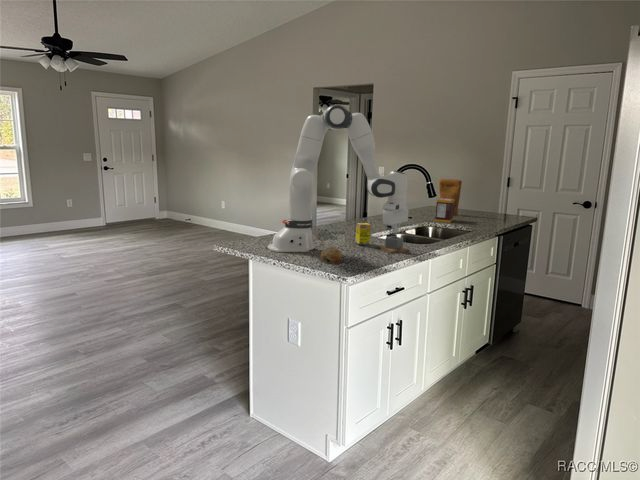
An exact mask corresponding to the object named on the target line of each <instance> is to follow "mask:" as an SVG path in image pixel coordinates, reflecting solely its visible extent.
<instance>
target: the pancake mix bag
mask: <svg viewBox="0 0 640 480" xmlns="http://www.w3.org/2000/svg"><path fill="white" fill-rule="evenodd" d="M462 183H463V180H461V179H452V178H450V179H447V178H440V179H438V183H437V184H438V194H439V198H438V199H440V198H448V199H455V203H454V214H453V217H456V216H457V217H458V216H459V215H458V214H459V205H460V204H459V202H460V197H461V192H462V185H463V184H462Z"/></svg>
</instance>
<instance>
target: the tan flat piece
mask: <svg viewBox="0 0 640 480" xmlns="http://www.w3.org/2000/svg"><path fill="white" fill-rule="evenodd" d="M378 249H379V250H381V251H383V252H387V253H389V254H396V253H397V254H398V253H400V254H401V253H410V249H409V248H407V247H404V246H403V248H400V249H397V250H395V249H389V248H385V245H378Z"/></svg>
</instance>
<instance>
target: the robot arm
mask: <svg viewBox="0 0 640 480" xmlns="http://www.w3.org/2000/svg"><path fill="white" fill-rule="evenodd" d="M340 129H341V130H344V131H345V132H346V134H347V135H348V139H349V140H350V144H351V146H352V148H353V150H354V152H355V153H356V155H357V157H358V159H359V160H360V162H361V164H362V167H363V170H364V174H365V176H366V190H367V192H368V193H369V194H370V195H371V196H372V197H376V198H378V199H380V198H388V200H387V201H386V202H385V203H384V204H383V205H382V209H383V213H382V224H383V225H384V226H388V227H390V226H391V229H392V230H391V231H392V234H396V233H399V229H400V226H401V224H403V223H406V222H408V220H409V208H408V205H407V198H408V197H407V191H408V175H407V174H406V173H405V172H403V171H397V170H392V171H390V172H388V173H386V174H385V175H383V176H382V175H381V174H380V172H379V169H378V167H377V164H376V161H375V156H374V153H375V149H376V141H375V137H374V134H373V131H372V128H371V125H370V124H369V122H368V120H367V119H366V116H365V115H364V114H363V113H361V112H353V113H351V112H350V110H348V109H347V108H345V107H344V105H343V106H342V105H340V104H333V105H330V106H328V107H327V108H326V109H325V111H324V112H322V114H321V115H319V114H312V115H308V116H307V118H306V119H305V121H304V123H303V125H302V129H301V132H300V137H299V138H298V144H297V148H296V152H295V155H294V160H293V163H292V166H291V170H290V174H289V198H288V199H289V202H288V204H289V205H288V206H289V207H288V219H285V218H284V219H282V220H281V223H282V224H283V225H284V227H283V228H281V229H280V230H278V232H276V233H275V234H274V235H273V239H272V243H269V244H268V245H267V248H268V249H269V250H270V251H272V252H277V253H300V252H302V253H306V252H310V250H313V249H315V246H314V241H313V233H312V232H313V226H314V225H313V224H314V223H313V219H312V215H313V198H314V196H313V195H314V186H315V185H314V184H315V182H314V175H315V171H316V167H317V165H318V161H319V159H320V154H321V151H322V147H323V145H324V143H323V142H324V140H325V135H326V133H327V131H329V130H330V131H336V130H340Z"/></svg>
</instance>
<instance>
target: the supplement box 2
mask: <svg viewBox="0 0 640 480" xmlns="http://www.w3.org/2000/svg"><path fill="white" fill-rule="evenodd" d="M454 203H455V199H448V198H440V199H439V198H438V199H436V207H435V208H436V209H435V220H434V221H435V222H440V223H451V222H452V221H454V216H453V214H454Z"/></svg>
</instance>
